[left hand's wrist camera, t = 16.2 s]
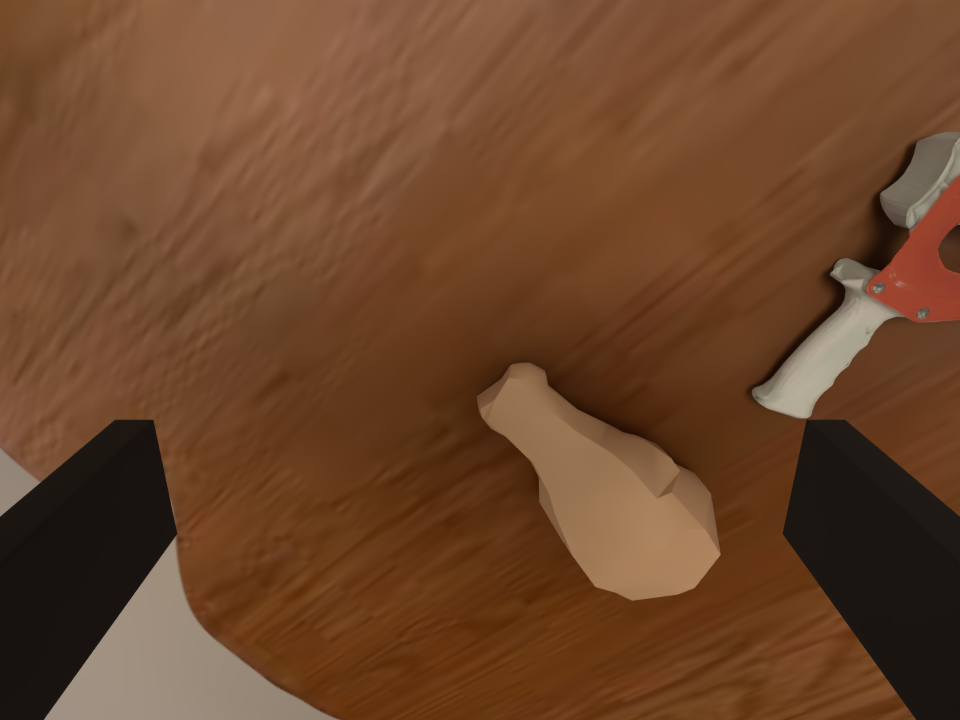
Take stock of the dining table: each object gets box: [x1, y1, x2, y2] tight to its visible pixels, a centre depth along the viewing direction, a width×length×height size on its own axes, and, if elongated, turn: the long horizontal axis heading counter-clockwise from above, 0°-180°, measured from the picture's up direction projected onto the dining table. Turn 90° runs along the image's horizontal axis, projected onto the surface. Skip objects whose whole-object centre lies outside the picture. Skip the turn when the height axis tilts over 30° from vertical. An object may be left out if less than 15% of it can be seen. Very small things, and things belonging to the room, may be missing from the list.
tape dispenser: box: [752, 132, 960, 418], centre depth 41 cm, size 18×5×20 cm
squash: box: [477, 362, 720, 600], centre depth 44 cm, size 11×20×9 cm, turn 48°
